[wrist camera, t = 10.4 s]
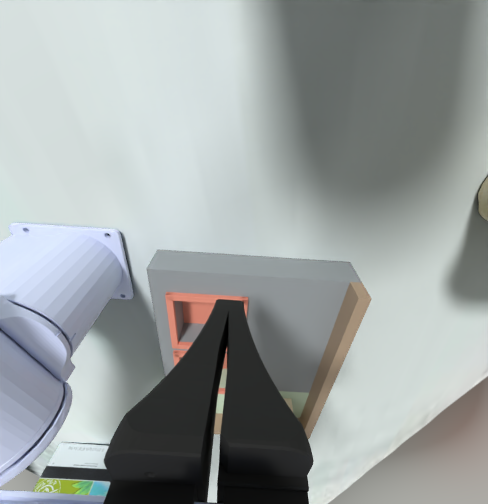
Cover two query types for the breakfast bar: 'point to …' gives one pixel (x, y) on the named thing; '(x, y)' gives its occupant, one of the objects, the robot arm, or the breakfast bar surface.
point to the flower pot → (483, 200)
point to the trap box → (264, 317)
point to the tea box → (76, 470)
